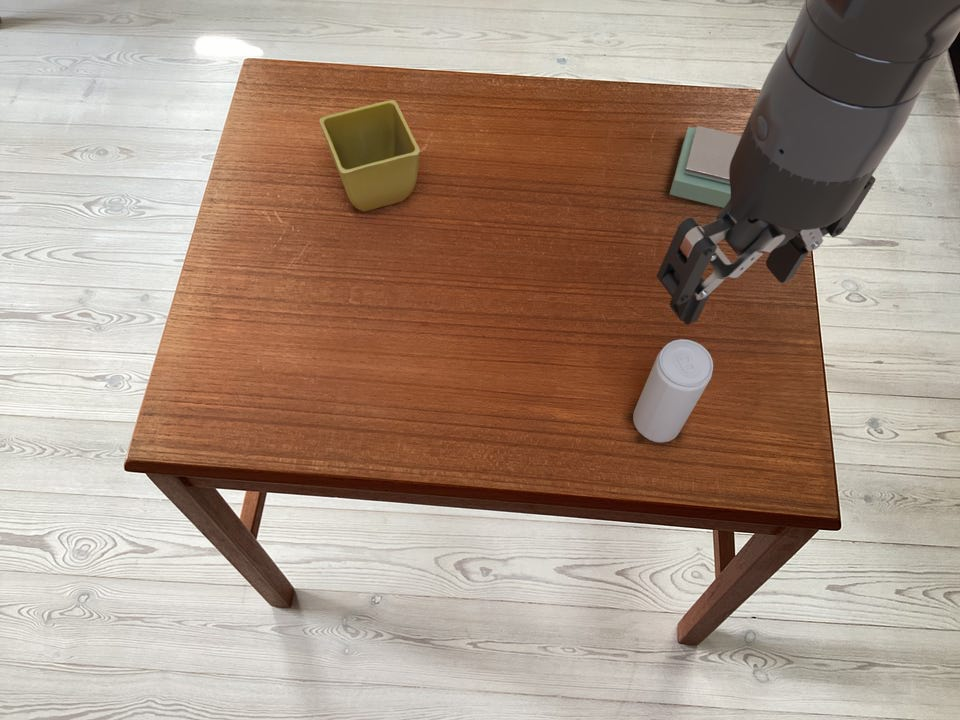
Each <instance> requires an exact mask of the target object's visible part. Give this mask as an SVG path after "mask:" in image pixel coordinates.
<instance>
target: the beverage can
mask: <svg viewBox="0 0 960 720" xmlns="http://www.w3.org/2000/svg"><path fill="white" fill-rule="evenodd" d="M713 370H714V361H713V358H712V356H711V353H710V352H709V351H708V350H707V348H705V347H704V346H703V345H702V344H700V343H698V342H697V341H694V340H690V339H683V338H682V339H675V340H673V341H670V342H668V343H667V344H666V345H664V346H663V347H662V349H660V351H659V353H658V354H657V356H656V358H655V361H654V363H653V365H652V368H651V370H650V372H649V375H648V377H647V380H646V381H645V384H644V387H643V388H642V392H641V394H640V396H639V398H638V401H637V403H636V406H635V408H634V410H633V415H632V422H633V425H634V427H635V429H636V430H637V432H638V433H639V434H640V435H642V437H644V438H646V439H647V440H649V441H651V442H654V443H661V444H662V443H668V442H670V441H672V440H674V439H675V438H676V437H677V436H679V434H680V432H681V430H682V429H683V427H684V426H685V424H686V423H687V421H688V419H689V417H690V415H691V414H692V412H693V410H694V408H695V407H696V405H697V403H698V402H699V400H700V398H701V396H702V395H703V393H704V392H705V389H706V388H707V386H708V384H709V382H710V381H711V379H712V377H713Z"/></svg>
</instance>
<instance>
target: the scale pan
mask: <svg viewBox="0 0 960 720" xmlns="http://www.w3.org/2000/svg"><path fill="white" fill-rule="evenodd" d="M695 128H696V130H695V134H694V138H693V142H692V146H691V149H690V153H689V157H688V161H687V165H686V169H685V173H686V174H690V175H694V176H698V177H702V178H706V179H711V180H715V181H719V182H723V183H727V184H730V178H729V169H730V163H731V160H732V158H733V155H734V153H735V151H736V148H737V146H738V143H739V141H740V139H741V136H742V135H739V134H735V133H732V132H727V131H722V130H718V129H714V128H709V127H705V126H701V125H696V126H695Z"/></svg>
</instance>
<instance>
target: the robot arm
mask: <svg viewBox="0 0 960 720" xmlns="http://www.w3.org/2000/svg"><path fill="white" fill-rule="evenodd" d="M803 1H804V2H803V4H802V5H801V9H800V11H799V13H798V15H797V18H796V19H795V23H794V25H793V28H792V29H791V31H790V34H789V36H788V38H787V41H786V42H785V45H784V47H783V48H782V50H781V51H780V53H779V55H778V56H777V58H776V59H775V60H774V63H773V64H772V66H771V67H770V70H769V72H768V73H767V75H766V78H765V80H764V82H763V85H762V86H761V89H760V91H759V94H758V96H757V99H756V101H755V104H754V106H753V108H752V110H751V113H750V115H749V117H748V120H747V123H746V125H745V127H744V130H743V132H742V134H741V135H740V136H741V139H740V141H739V143H738V146H737V148H736V151H735V153H734V155H733V158H732V160H731V163H730V169H729V178H730V189H731V198H730V200H729V202H728V203H727V204H726V206H725V207H724V208H722V209H721V210H720V211H719V213H718V214H717V215H716V218H715V220H713V221H710V222H708V223H705V224H703V225H700V224H699V223H698V221H697V220H696V219H695V218H694V217H692V216H691V217H688V218H685V219H684V220H683V221H681V223H680V224H679V225H678V226H677V229H676V230H675V233H674V235H673V238H672V239H671V242H670V244H669V247H668V249H667V251H666V253H665V256H664V257H663V260H662V262H661V265H660V267H659V269H658V271H657V273H656V278H657V280H658V281H659V282H660V284H661V285H662V286H663V288H664V289H665V290H666V291H667V294H669V296H670V297H671V299H670V301H669V307H670V309H671V310H672V312H673V313H674V314H675V315H676V317H677V318H678V319H679V321H680V322H683V323H684V324H685V325H687V326H689V325H691V324H694V323H696V322H698V321H699V319H700V316H701V315H702V312H703V310H704V308H705V306H706V304H707V302H708V300H709V298H710V295H711V294H712V293H713V292H714V291H715V289H716V288H718V287H719V286H720V285H721V284H722V283H723V282H724V281H725V280H730V281H731V280H732V281H733V280H736V279H738V278H739V277H740V276H741V275H742V274H743V273H745V272H746V270H747V269H749V268H750V267H751V266H752V265H753V264H754V263H755V262H757V260H758V259H759V258H760V257H762V256H763V255H764V254H769V255H768V257H767V259H766V261H765V265H766V268H767V269H768V271H770V273H771V274H772V275H773V276H774V277H775V279H776V280H777V281H778V282H779V283H781V284H784V283H785V282H789V281H790V280H792V279H793V277H794V276H795V274H796V273H797V271H798V269H799V268H800V266H801V265H802V263H803V261H804V260H805V259H806V257H807V255H808V254H809V252H812V251H814V250H816V249H819V247H820V246H822V244H823V242H824V239H823V238H824V237H825V236H827V235H828V234H829V235H830V237H831V238H835V237H838V236H839V235H841V234H843V233H844V231H845V230H846V229H847V227H848V226H849V224H850V223H851V221H852V219H853V218H854V216H855V214H856V213H857V211H858V210H859V208H860V207H861V204H862V203H863V202H864V200H865V199H866V197H867V195H868V193H869V192H870V191H871V189H872V187H873V186H874V184H875V183H876V179H877V178H875V177H874V176H873V175H874V174H875V172H876V170H877V169H878V167H879V165H880V164H881V162H882V160H884V158H885V156H886V155H887V153H888V151H889V150H890V149H891V147H892V146H893V144H894V143H895V141H896V139H897V138H898V137H899V135H900V133H901V132H902V130H903V128H904V127H905V125H906V123H907V121H908V120H909V117H910V115H911V112H912V111H913V109H914V106H915V104H916V101H917V100H918V97H919V96H920V94H921V92H922V91H923V88H924V87H925V85H926V84H927V82H928V81H929V79H930V77H931V76H932V75H933V73H934V72H935V70H936V68H937V67H938V66H939V64H940V62H941V61H942V59H943V57H944V56H945V55H946V53H947V51H948V50H949V48H950V47H951V45H952V44H953V42H954V41H955V40H956V38H957V36H958V34H959V33H960V0H803ZM723 240H725V242H726V243H727V244H728V246H729V247H730V248H731V249H732V250H733V251H734V253H735V254H736V255H737V256H738V257H737V258H736V259H735V260H734V261H733V262H731V261H730V260H729V259H728V257H727V256H726V255H725V254H724V252H723V251H722V250H721V249H720V247H719V243H720V242H722V241H723ZM709 264H710V265H711V266H712V268H713V270H712V271H713V272H712V273H711V274H710V275H709V276H708V277H707V278H706V279H705V278H704V277H703V275H704V274H705V272H706V270H707V268H708V266H709Z"/></svg>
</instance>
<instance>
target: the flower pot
mask: <svg viewBox="0 0 960 720" xmlns="http://www.w3.org/2000/svg"><path fill="white" fill-rule="evenodd" d="M319 124H320V127H321V130H322V133H323V136H324V138H325V142H326V144H327V148H328V150H329V154H330V157H331V158H332V161H333V164H334V165H335V168H336V170H337V173H338V175H339V177H340V180H341V182H342V185H343V188H344V190H345V193H346V196H347V198H348V200H349V202H350V203H351V204H352V206H353V207H354V208H355V209H357V210H359V211H360V212H365V213H366V212H369V211H373V210H376V209H379V208H383V207H387V206H391V205H394V204H398V203H401V202H403V201H405V200H406V199H407V198H408V197H409V196H410V195H411V194H412V192H413V191H414V189H415V187H416V184H417V180H418V174H419V166H420V165H419V163H420V156H421V149H420V147H419V145H418V143H417V141H416V139H415V137H414V135H413V133H412V131H411V129H410V127H409V124H408V122H407V121H406V119H405V116H404V114H403V113H402V109H401V108H400V106H399V104H398V102H397V101H396V100H395V99H390V100H385V101H380V102H376V103H372V104H368V105H364V106H359V107H357V108H352V109H349V110H345V111H340V112H337V113H336V112H335V113H333V114H329V115H325V116H322V117H320V118H319Z"/></svg>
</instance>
